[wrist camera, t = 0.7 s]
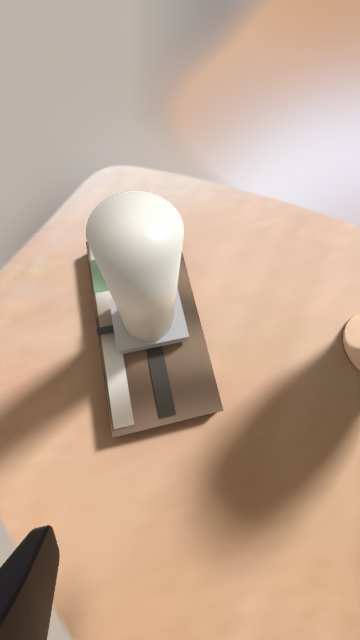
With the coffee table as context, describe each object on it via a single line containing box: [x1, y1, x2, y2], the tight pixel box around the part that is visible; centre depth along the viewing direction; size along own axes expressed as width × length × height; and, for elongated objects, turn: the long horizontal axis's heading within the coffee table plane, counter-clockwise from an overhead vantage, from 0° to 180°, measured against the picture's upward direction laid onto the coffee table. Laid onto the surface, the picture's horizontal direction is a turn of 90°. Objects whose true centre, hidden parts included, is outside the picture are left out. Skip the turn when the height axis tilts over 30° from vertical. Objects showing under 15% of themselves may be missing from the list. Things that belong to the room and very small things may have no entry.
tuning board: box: [86, 242, 223, 438], centre depth 21 cm, size 16×8×2 cm, turn 13°
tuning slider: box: [86, 191, 189, 354], centre depth 15 cm, size 4×6×11 cm, turn 103°
